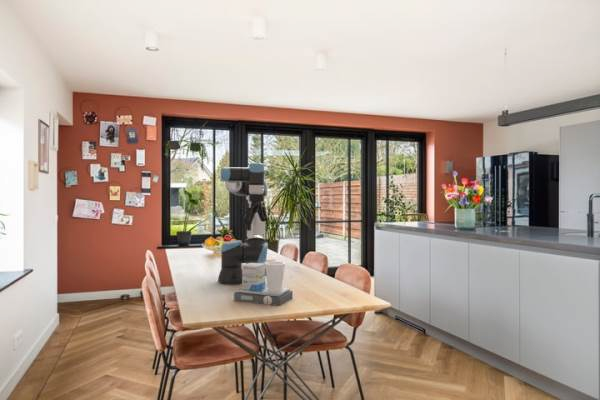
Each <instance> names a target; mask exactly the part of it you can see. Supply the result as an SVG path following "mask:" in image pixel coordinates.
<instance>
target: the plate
mask: <svg viewBox="0 0 600 400" xmlns="http://www.w3.org/2000/svg"><path fill="white" fill-rule="evenodd" d="M288 291H291V289H290V288H288V287H282V289H281V291H279V292H271V291H268V285H265V287H264V288H262V289H259V290H248V289H242V287H240V288H238V289H237V290H236V292H242V293H251V294H260V295H269V296H278V297H279V296H281V295H282V294H284V293H286V292H288Z"/></svg>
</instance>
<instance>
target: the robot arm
mask: <svg viewBox="0 0 600 400" xmlns="http://www.w3.org/2000/svg"><path fill="white" fill-rule="evenodd" d="M220 181H221V182H225V188H226V190H227V191H228V192H230V193H231V194H234V195H235V196H240V197H245V199H246V200H247V209H246V214H245V215H244V216H245V217H244V221H243V223H244V224H246V237H247V238H246V239H245V242H243V241H242V240H239V239H237V240H229V241H226V242H223V243H222V244H221V250H220V252H221V255H220V256H221V259H220V260H221V264H220V265H221V267H220V272H219V275H218V277H217V281H218V283H219V284H222V285H237V284H242V265H243V264H246V263H264V262H265V261H266V257H267V256H268V248H269V247H268V246H269V243H268V242H266V238H265V237H264V235H265V234H266V222H267V221H268V215H267V211H266V204H265V202H264V201H265V199H266V197H267V196H268V188H267V186H268V185H267V181H266V179H265V164H264V163H262V162H251V163H249V166H247V167H245V166H244V167H239V166H238V167H235V166H233V167H231V166H230V167H229V166H224V167H221V168H220Z"/></svg>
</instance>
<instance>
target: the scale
mask: <svg viewBox="0 0 600 400" xmlns="http://www.w3.org/2000/svg"><path fill="white" fill-rule="evenodd" d="M293 293H294V292H293V290H290V291H288V292H286V293H284V294H282V295H281V296H279V297H278V296H269V295H260V294H251V293H242V292H237V291H236V292H233V300H234V301H237V302H238V301H239V302H246V303H247V302H248V303H254V304H263V305H268V306H269V305H272V306H278V307H279V306H281V305H284V304H285V303H287V302H289V301H290V300H292V299H293Z"/></svg>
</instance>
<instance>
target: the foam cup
mask: <svg viewBox="0 0 600 400" xmlns="http://www.w3.org/2000/svg"><path fill="white" fill-rule="evenodd" d="M285 268H286V263H285V262H283V261H275V262H266V263H265V269H266V273H265V277H266V283H267V284H266V285H267V286H268V291H271V292H279V291H281V289H282V288H283V281H284V275H285Z"/></svg>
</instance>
